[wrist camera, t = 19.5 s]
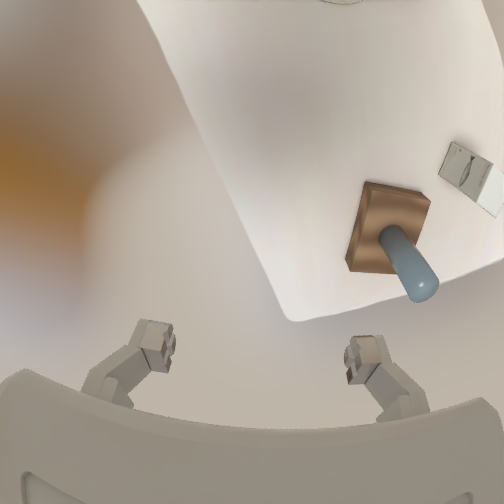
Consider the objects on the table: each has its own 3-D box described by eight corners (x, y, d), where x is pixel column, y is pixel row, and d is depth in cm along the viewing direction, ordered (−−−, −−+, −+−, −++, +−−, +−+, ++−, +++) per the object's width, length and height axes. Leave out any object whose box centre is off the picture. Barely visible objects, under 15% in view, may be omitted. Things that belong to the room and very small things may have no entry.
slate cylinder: (383, 222, 42) (418, 273, 30) (406, 226, 42) (444, 275, 30) (375, 247, 45) (403, 302, 33) (398, 250, 45) (429, 302, 33)
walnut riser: (364, 181, 42) (372, 190, 39) (420, 192, 42) (431, 201, 39) (345, 258, 51) (349, 271, 48) (396, 262, 51) (403, 274, 48)
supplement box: (450, 140, 36) (494, 162, 25) (473, 158, 36) (514, 182, 26) (436, 174, 40) (475, 203, 29) (459, 189, 40) (497, 219, 30)
